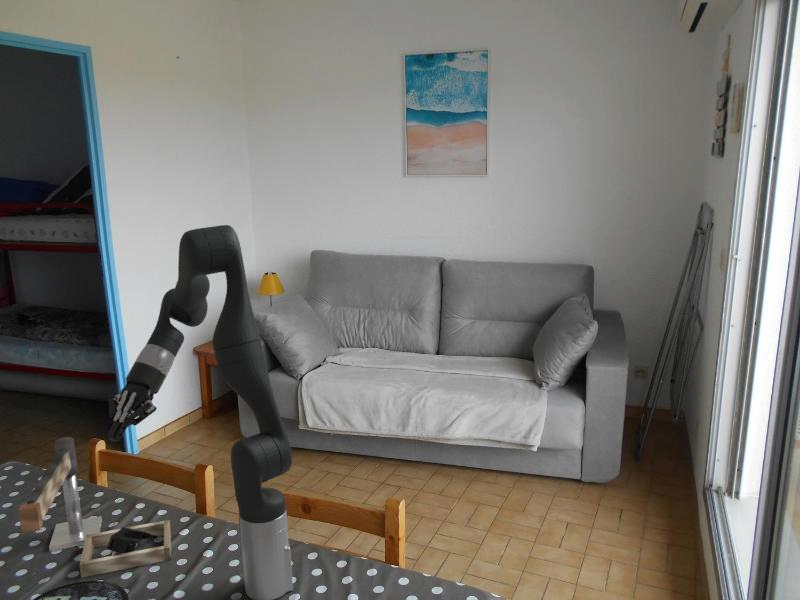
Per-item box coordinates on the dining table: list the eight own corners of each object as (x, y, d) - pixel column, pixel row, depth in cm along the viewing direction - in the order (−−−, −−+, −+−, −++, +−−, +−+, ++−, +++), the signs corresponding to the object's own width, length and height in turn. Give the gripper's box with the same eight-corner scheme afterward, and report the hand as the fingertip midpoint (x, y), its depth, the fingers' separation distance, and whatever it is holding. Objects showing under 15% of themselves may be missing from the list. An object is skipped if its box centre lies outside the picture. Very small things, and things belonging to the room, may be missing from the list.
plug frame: (170, 531, 155) (169, 519, 154) (170, 559, 144) (169, 547, 143) (87, 546, 149) (86, 534, 149) (81, 577, 138) (79, 565, 138)
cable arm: (61, 470, 152) (56, 438, 150) (79, 468, 153) (75, 436, 151) (20, 540, 124) (14, 502, 122) (43, 537, 125) (37, 499, 123)
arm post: (102, 520, 160) (94, 461, 157) (97, 542, 151) (89, 480, 148) (56, 528, 157) (48, 468, 154) (49, 551, 148) (40, 488, 144)
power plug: (166, 536, 151) (127, 530, 141) (153, 570, 149) (113, 566, 139) (149, 530, 154) (109, 524, 144) (136, 564, 151) (95, 559, 141)
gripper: (119, 357, 147) (78, 428, 139) (162, 364, 141) (122, 438, 133) (140, 372, 153) (102, 441, 145) (182, 380, 147) (145, 452, 139)
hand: (112, 440), depth 139 cm, fingers closed
